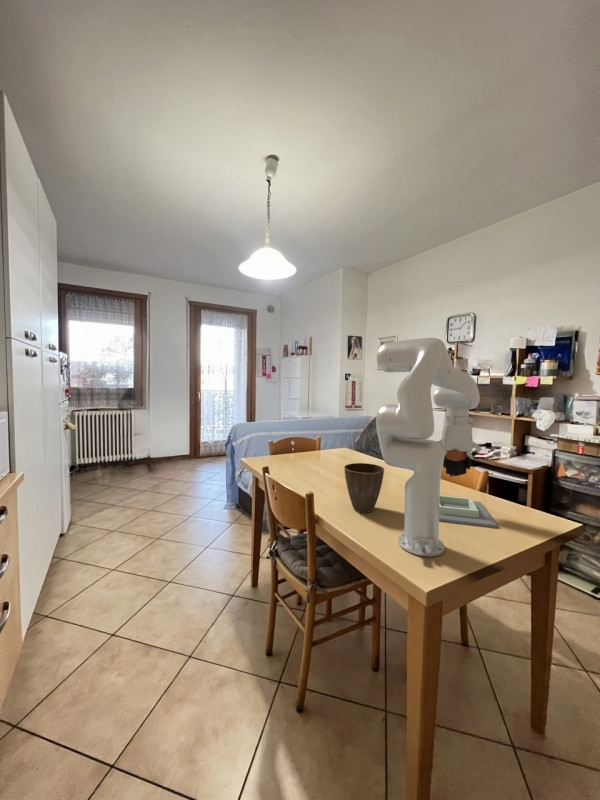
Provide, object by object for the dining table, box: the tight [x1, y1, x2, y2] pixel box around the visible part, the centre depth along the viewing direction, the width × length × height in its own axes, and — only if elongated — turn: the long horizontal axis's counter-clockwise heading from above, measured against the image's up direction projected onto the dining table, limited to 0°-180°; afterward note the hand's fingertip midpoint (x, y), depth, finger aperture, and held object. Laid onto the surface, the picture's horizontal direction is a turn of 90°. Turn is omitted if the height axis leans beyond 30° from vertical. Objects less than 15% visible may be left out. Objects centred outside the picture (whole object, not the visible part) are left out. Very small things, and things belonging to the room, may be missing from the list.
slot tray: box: [439, 494, 498, 529], centre depth 118 cm, size 22×22×4 cm
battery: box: [445, 448, 468, 477], centre depth 117 cm, size 4×7×10 cm, turn 121°
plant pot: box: [343, 462, 385, 514], centre depth 120 cm, size 15×15×16 cm
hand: (456, 467), depth 118 cm, fingers closed on battery, 7 cm apart
